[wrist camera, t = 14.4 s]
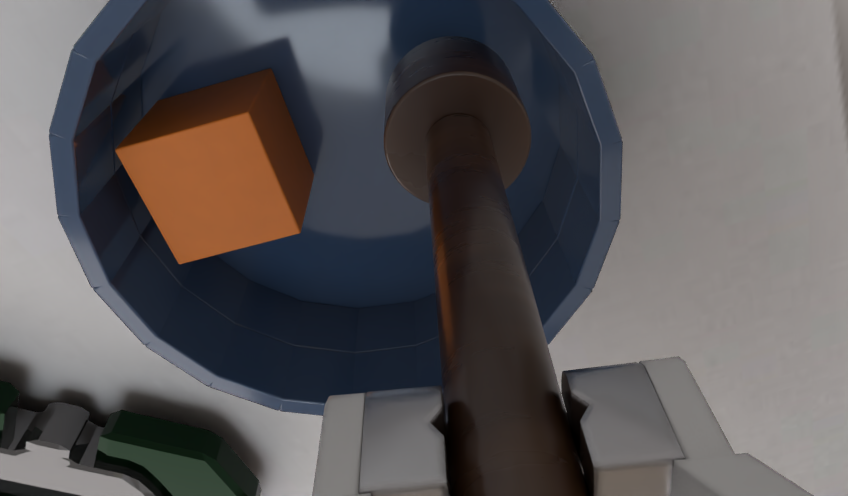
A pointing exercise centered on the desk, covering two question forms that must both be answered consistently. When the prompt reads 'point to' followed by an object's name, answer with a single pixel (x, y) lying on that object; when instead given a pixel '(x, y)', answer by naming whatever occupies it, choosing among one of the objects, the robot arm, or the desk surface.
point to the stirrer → (480, 269)
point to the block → (220, 167)
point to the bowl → (324, 187)
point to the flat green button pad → (112, 455)
